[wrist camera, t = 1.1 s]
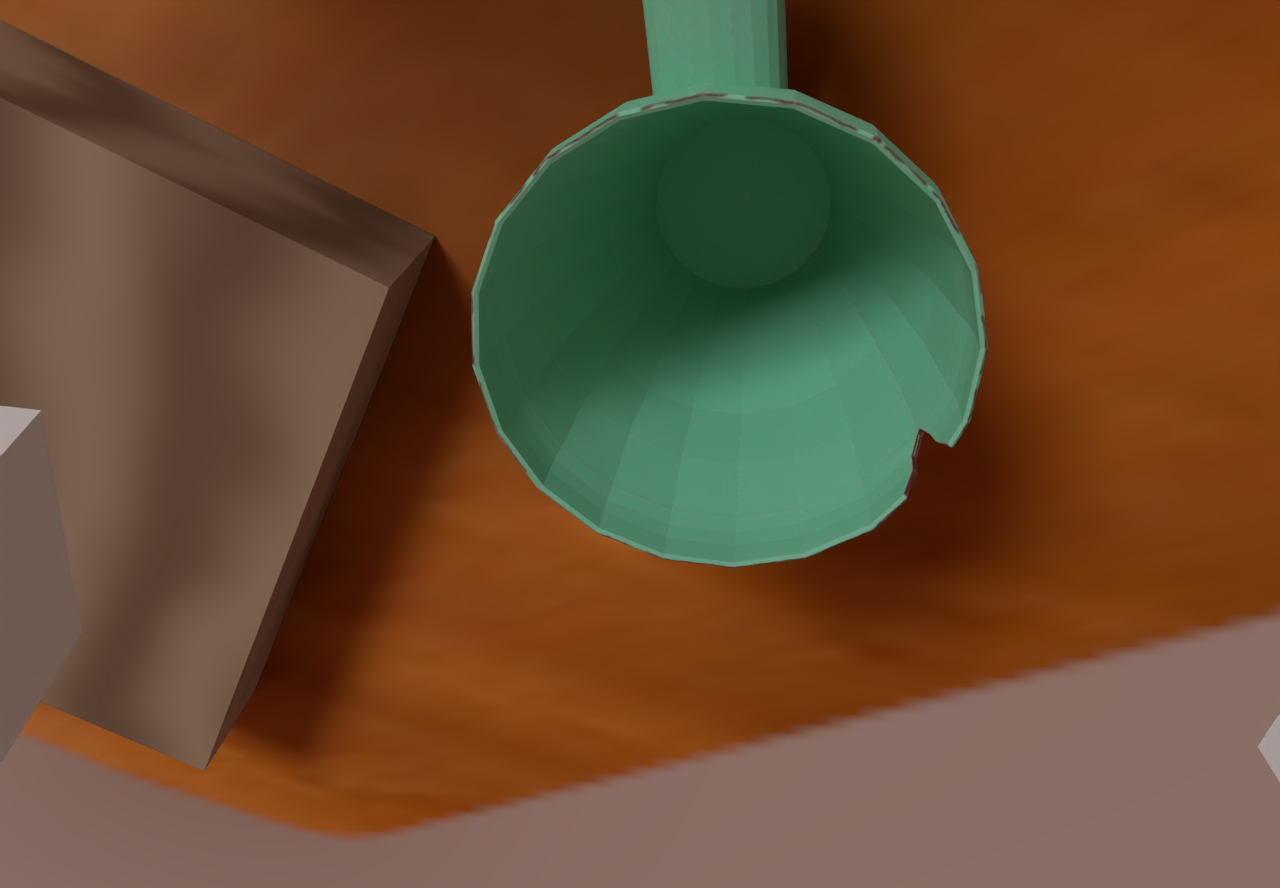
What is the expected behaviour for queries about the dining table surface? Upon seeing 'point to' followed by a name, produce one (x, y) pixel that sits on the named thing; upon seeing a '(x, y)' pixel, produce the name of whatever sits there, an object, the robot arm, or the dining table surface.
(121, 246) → the plinth
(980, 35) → the dining table surface
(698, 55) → the mug
